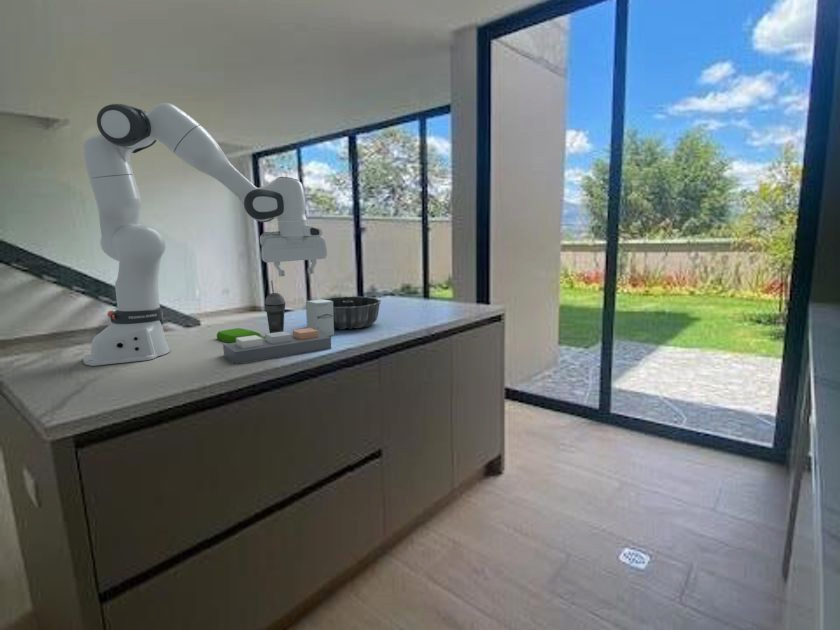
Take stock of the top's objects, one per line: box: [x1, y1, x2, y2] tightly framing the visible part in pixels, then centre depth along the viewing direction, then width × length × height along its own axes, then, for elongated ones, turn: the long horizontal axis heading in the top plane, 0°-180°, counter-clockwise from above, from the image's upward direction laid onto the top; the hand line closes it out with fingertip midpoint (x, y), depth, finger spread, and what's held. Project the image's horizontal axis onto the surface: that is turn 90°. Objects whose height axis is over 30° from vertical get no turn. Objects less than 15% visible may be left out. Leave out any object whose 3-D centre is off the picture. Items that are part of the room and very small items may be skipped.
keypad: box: [222, 333, 332, 365], centre depth 148 cm, size 30×12×4 cm, turn 128°
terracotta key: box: [292, 327, 318, 340], centre depth 153 cm, size 6×6×3 cm
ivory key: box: [236, 335, 263, 349], centre depth 142 cm, size 6×6×3 cm
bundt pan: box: [321, 296, 382, 330], centre depth 189 cm, size 26×26×10 cm
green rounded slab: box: [216, 327, 265, 343], centre depth 163 cm, size 3×11×24 cm
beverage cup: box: [264, 280, 286, 333], centre depth 169 cm, size 7×7×20 cm
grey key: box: [264, 331, 292, 344], centre depth 148 cm, size 6×6×3 cm
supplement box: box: [305, 298, 335, 337], centre depth 171 cm, size 7×7×13 cm
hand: (296, 274), depth 151 cm, fingers open, 8 cm apart
